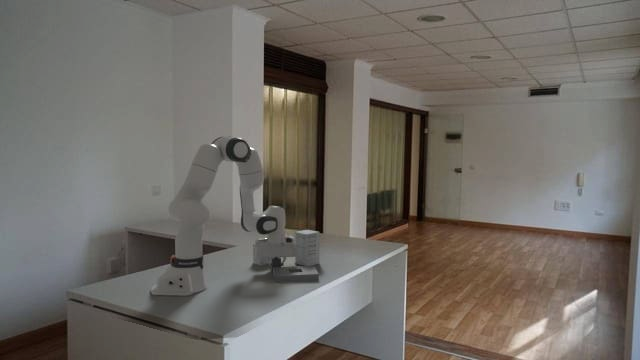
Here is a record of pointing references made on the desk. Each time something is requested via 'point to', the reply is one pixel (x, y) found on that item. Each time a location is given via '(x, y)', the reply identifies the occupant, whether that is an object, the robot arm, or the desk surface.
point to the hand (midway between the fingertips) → (276, 265)
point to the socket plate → (295, 273)
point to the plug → (276, 262)
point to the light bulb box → (259, 260)
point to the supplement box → (307, 247)
